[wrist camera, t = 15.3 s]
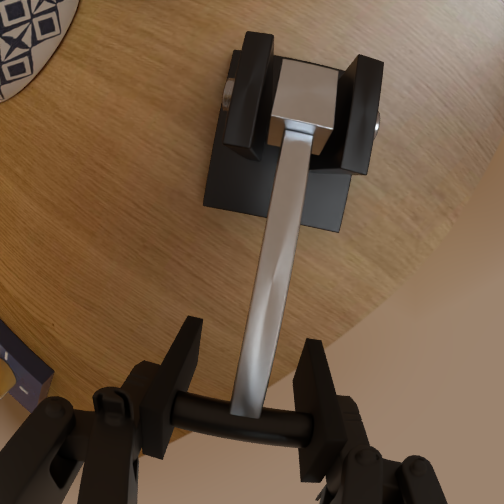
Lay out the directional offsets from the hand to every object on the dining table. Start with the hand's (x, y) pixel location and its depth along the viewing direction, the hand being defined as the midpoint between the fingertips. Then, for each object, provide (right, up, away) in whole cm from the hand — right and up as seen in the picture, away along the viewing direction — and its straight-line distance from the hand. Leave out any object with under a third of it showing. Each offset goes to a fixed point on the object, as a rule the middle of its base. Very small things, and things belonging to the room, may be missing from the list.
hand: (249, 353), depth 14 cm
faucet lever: (+1, +5, -3) cm, 6 cm away
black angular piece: (+3, +13, +7) cm, 15 cm away
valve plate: (-31, -10, +15) cm, 36 cm away
